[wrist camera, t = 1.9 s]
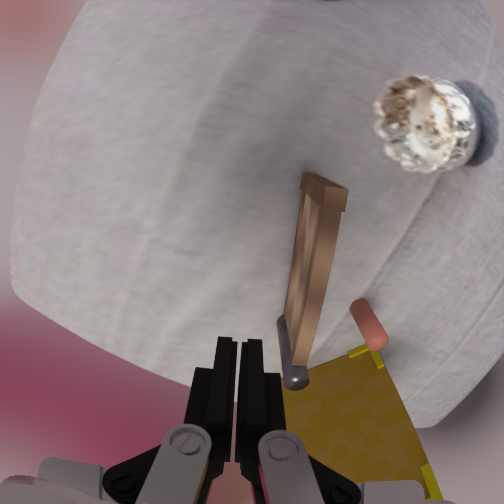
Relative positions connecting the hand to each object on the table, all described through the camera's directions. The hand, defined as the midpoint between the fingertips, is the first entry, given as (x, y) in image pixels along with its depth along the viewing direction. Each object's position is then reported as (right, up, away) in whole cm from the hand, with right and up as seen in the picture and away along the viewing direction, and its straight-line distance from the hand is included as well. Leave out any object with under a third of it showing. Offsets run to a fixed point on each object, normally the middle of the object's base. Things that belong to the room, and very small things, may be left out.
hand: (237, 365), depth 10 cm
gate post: (+5, -4, +23) cm, 24 cm away
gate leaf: (+6, +5, +19) cm, 20 cm away
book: (+11, -14, +27) cm, 32 cm away
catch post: (+14, -2, +22) cm, 26 cm away
